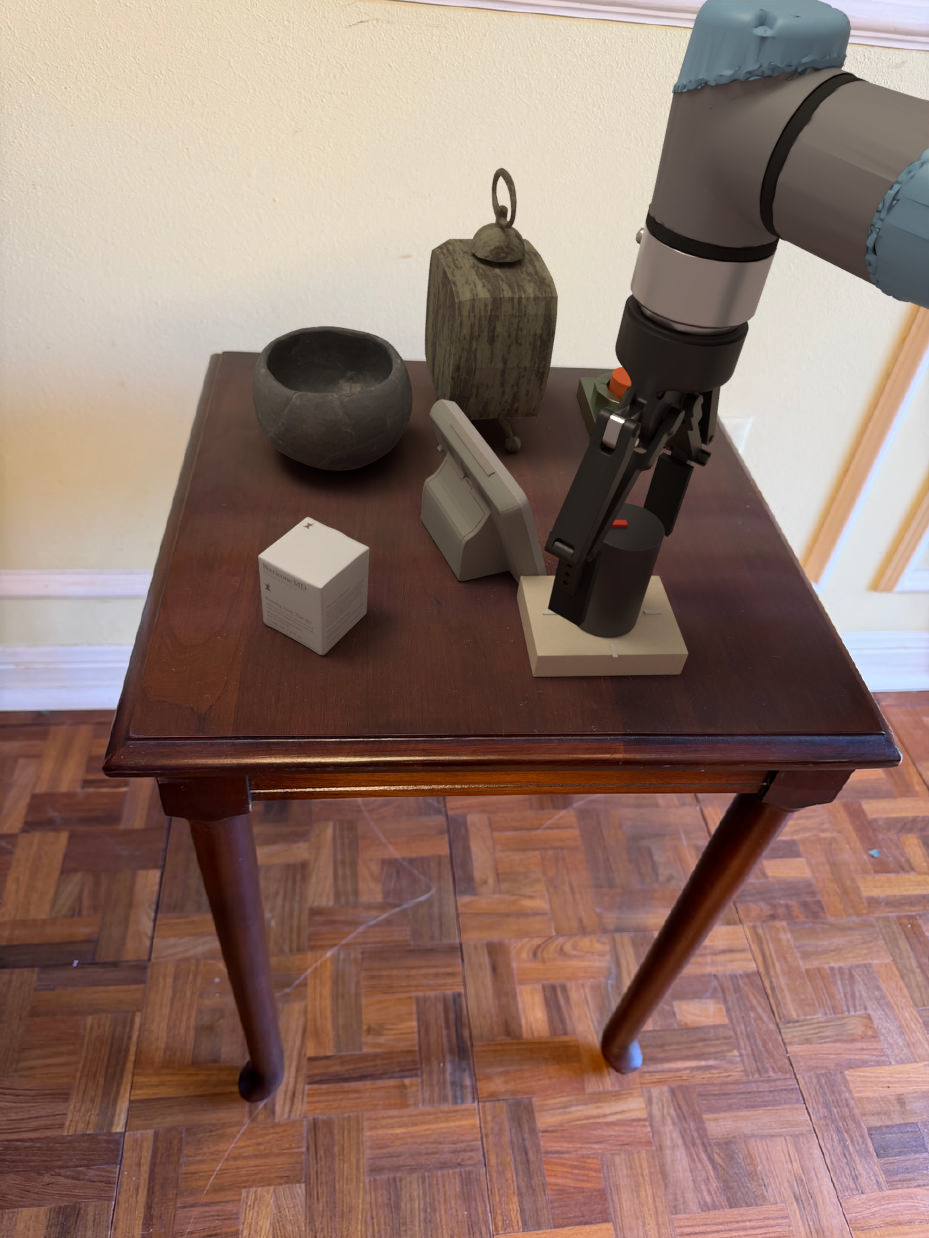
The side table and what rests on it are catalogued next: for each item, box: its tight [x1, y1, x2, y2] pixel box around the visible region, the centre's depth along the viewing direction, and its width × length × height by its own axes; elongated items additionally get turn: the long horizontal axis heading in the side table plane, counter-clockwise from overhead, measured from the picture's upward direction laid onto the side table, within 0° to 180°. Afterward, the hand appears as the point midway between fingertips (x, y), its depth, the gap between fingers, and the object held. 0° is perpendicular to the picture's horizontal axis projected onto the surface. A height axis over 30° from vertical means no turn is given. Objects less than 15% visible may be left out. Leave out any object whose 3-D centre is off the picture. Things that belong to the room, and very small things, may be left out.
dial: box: [579, 502, 665, 638], centre depth 68 cm, size 6×6×9 cm
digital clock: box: [420, 399, 547, 585], centre depth 77 cm, size 16×9×11 cm, turn 13°
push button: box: [609, 366, 631, 398], centre depth 94 cm, size 4×4×2 cm
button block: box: [576, 370, 666, 449], centre depth 96 cm, size 10×8×4 cm
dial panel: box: [516, 575, 689, 678], centre depth 73 cm, size 12×10×3 cm
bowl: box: [251, 325, 414, 472], centre depth 85 cm, size 15×15×10 cm
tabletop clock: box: [424, 167, 559, 453], centre depth 85 cm, size 14×9×25 cm, turn 13°
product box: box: [257, 516, 371, 656], centre depth 69 cm, size 6×6×7 cm
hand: (613, 569), depth 69 cm, fingers open, 13 cm apart
